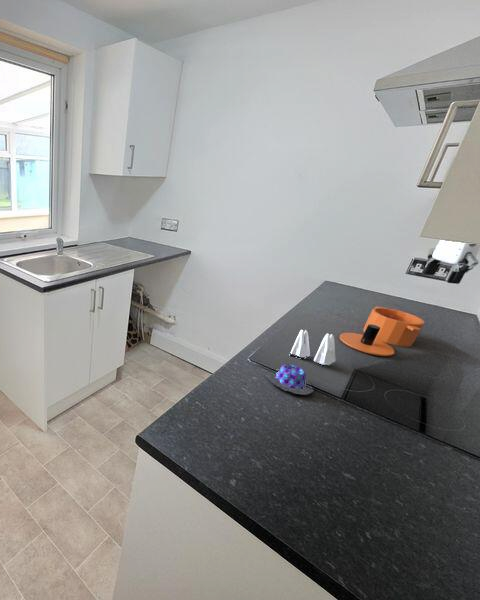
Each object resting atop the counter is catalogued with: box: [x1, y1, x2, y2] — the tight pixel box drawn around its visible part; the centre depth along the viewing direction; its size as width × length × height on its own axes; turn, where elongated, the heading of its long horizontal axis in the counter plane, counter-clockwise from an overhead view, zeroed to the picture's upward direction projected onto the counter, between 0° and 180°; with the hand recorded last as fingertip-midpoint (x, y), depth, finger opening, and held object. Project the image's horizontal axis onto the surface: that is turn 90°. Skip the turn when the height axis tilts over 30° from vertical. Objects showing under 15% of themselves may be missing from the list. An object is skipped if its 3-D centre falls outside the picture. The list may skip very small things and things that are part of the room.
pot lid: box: [339, 324, 395, 357], centre depth 114 cm, size 16×16×8 cm
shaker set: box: [290, 329, 337, 366], centre depth 102 cm, size 12×4×11 cm, turn 49°
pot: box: [362, 306, 426, 348], centre depth 121 cm, size 15×20×10 cm
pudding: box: [275, 363, 307, 389], centre depth 91 cm, size 12×12×5 cm
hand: (440, 278), depth 107 cm, fingers open, 9 cm apart
